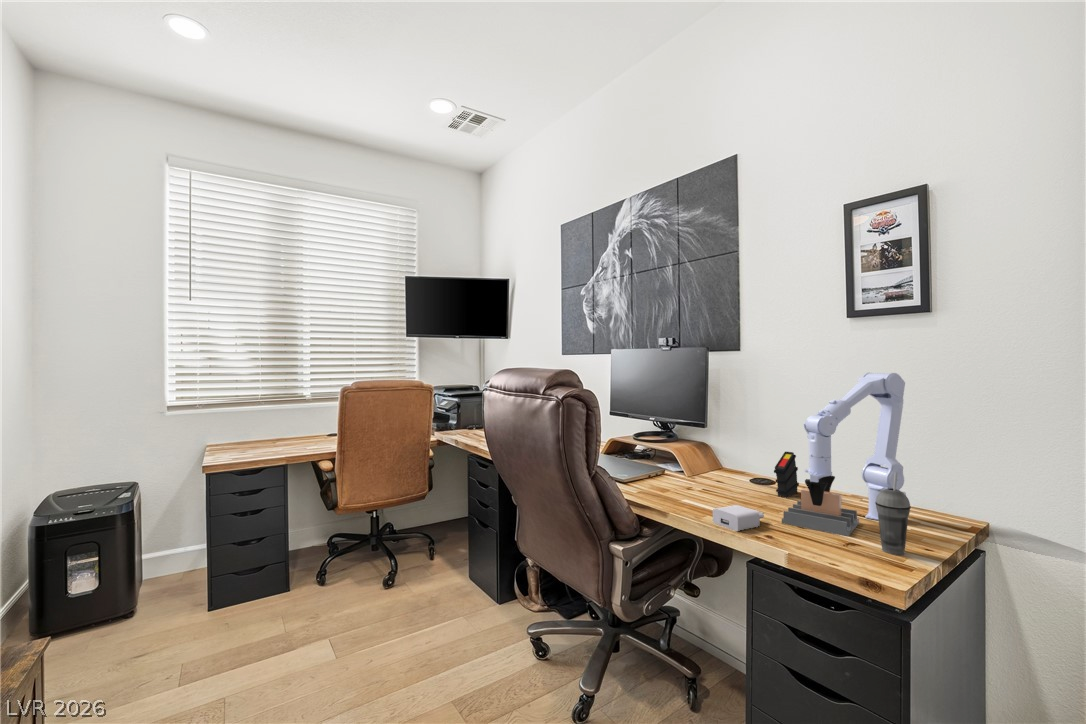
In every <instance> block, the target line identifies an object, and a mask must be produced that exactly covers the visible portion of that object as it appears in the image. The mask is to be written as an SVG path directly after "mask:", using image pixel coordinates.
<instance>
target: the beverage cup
mask: <svg viewBox="0 0 1086 724" xmlns="http://www.w3.org/2000/svg"><path fill="white" fill-rule="evenodd" d="M896 483H897V472H895V476H894V488H893V489H892V488H888V489H884V490H882V491H881V492H880V493H879V494H878V496H877V498H876V502H875V504H876V508H877V512H878V519H879V520H878V527H879V528H878V529H879V535H880V536H879V537H880V544H881V551H882V552H884V553H886V554H890V555H892V556H893V555H896V556H902V555H905V550H906V549H905V548H906V544H907V533H908V532H907V531H908V523H909V516H910V512H911V503H910V499H909V498H908V497H907V494H906V495H905V494H904V493H903V492H904V491H902V490H900V491H899V490H897V489H896ZM901 491H902V492H901Z"/></svg>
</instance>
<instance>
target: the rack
mask: <svg viewBox="0 0 1086 724" xmlns="http://www.w3.org/2000/svg"><path fill="white" fill-rule="evenodd" d="M796 502H797V503H796V504H795V503H793V504H792V507H789V506H788V507H787V509H788V510H783V512H782V513H783V514H782V515H783V516H782V517H783V518H781V524H783V523H785V524H784V525H788V524H789V526H794V527H798V526H799V527H800V528H805V529H810V530H814V531H820V532H825V533H830V534H833V535H834V534H835V535H840V536H845V537H850V535H851V534H852V533H853V532H854V530H855V529H856V528H857V526H858V525H859V524H860V519H859V518H858V510H854V509H850V508H843V507H841V516H836V515H830V514H824V513H819V512H813V511H807V510H802V509H801V500H797V501H796ZM799 527H798V528H799Z"/></svg>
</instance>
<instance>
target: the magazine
mask: <svg viewBox="0 0 1086 724" xmlns="http://www.w3.org/2000/svg"><path fill="white" fill-rule="evenodd" d="M796 457H797V455H796V454H795V453H794V452H793V451H784V453H783V454H782V455H781V457H780V459H779V460H778V462H777V463H776V464H775V466H774V470H773V473H774V474H775V476H776V479H775V483H776V485H777V489H776V490H775V492H776V493H777V496H778V497H780V496H781V497H780V498H785V497H786V498H788V497H791V496H793V495H795V494H796V493H798V487H799V486H800V482H798V474H797V473H798V470H799V468H798V466H797V465H796Z"/></svg>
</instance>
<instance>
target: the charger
mask: <svg viewBox="0 0 1086 724" xmlns="http://www.w3.org/2000/svg"><path fill="white" fill-rule="evenodd" d="M764 514H765V513H764V512H761V511H759V510H756V509H752V508H749V507H746V506H742V505H739V504H733V505H729V506H722V507H717V508H713V509H712V522H713V524H714V523H715V524H714V525H717V524H718V526H720V525H721V526H720V527H722V526H723V528H725V527H726V528H725V529H728V530H730V529H731V531H733V530H734V532H736V531H737V532H741V531H740V530H742V531H745V530H744V529H746V530H749V529H748V528H751V529H754V528H753V527H756V528H759V527H760V521H761V519H763V518H764V517H765V515H764ZM758 526H759V527H758Z"/></svg>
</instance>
